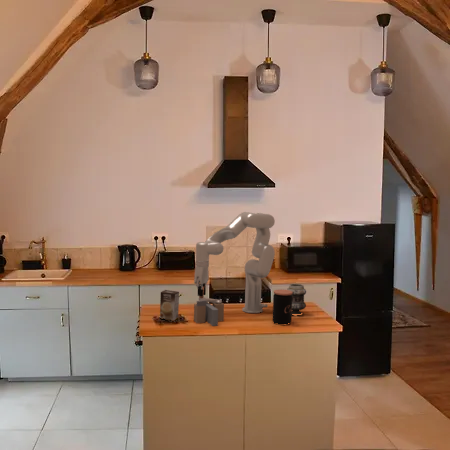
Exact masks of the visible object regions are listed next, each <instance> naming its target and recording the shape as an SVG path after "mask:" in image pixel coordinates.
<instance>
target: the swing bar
mask: <svg viewBox="0 0 450 450" xmlns="http://www.w3.org/2000/svg"><path fill="white" fill-rule="evenodd" d="M204 296H205V295H204V286H203V296H198V301H206V302H208V303H212V304H213V303H216V304H221V303H223V301H222V299H217V298H215V299H214V298H209V297H204Z"/></svg>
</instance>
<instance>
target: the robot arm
mask: <svg viewBox="0 0 450 450" xmlns="http://www.w3.org/2000/svg"><path fill="white" fill-rule="evenodd" d="M275 220H276V219H275V218H274V216H273V215H271V214H269V213H261V212H256V213H255V212H254V213H253V212H246V211H243V212H241V213H239V214H238V215H237V216H236V217H234V219H233V220H232V221H231V222H230V223H229V224H227V225H226V226H225V227H223V228H221V229H219V230H217V231H216V232H214V233H212V235H210V236H209V237H208V238H207V239H206V240H205V241H199V242H196V245H195V268H194V279H193V283H194V284H195V287H196V288H197V296H198V297H199V296H203V286H204V296H205V295H206V291H207V284H208V282H209V266H210V256H219V255H220V254H222V253H223V252H224V249H225V248H224V245H223V244H222V243H223V242H225V241H227V240H228V241H229V240H232V239H235V238H237V237H238V236H239V235H240V234H241V233H242V232H244V231H245V230H246V229H247V228H254V229H256V230H255V232H256V234H255V239H254V242H253V245H252V248H251V249H252V250H251V254H252V256H253V257H254V258H256V259H253V258H252V259H249V260H247V261H246V262H245V265H244V274H245V291H244V292H245V293H244V295H245V296H244V307H242V308H241V310H242V312H244V313H248V314H261V313H263V312H264V311H263V309H264V308H268V304H267V303H266V304H265V303H262V302H261V300H262V299H261V298H262V279H264V278H266V277H268V275H269V274H270V271H271V269H272V265H273V262H274V258H275V255H276V254H275V248H274V247H273V246H272V245H271V244H269V243H270V238H271V230H270V229H271V228H273V226H274V225H275ZM257 258H258V259H257ZM260 312H261V313H260Z"/></svg>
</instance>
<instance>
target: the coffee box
mask: <svg viewBox="0 0 450 450" xmlns="http://www.w3.org/2000/svg"><path fill="white" fill-rule="evenodd" d="M159 303H160V305H159V309H160V310H159V319H160V318H164V319H171V320H175V319H176V318H177V317H178V318H179V305H180V291H176V290H169V289H164V290H162V291H160V302H159Z"/></svg>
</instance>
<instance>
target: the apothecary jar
mask: <svg viewBox="0 0 450 450" xmlns="http://www.w3.org/2000/svg"><path fill="white" fill-rule="evenodd" d="M286 290H289V291H292V314H301V313H303V312H302V310H305V308H306V307H307V304H306V302H305V295H306V294H307V290H306V288H305V286H304V285H303V284H301V283H290V284H289V286H288V288H287V289H286Z"/></svg>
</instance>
